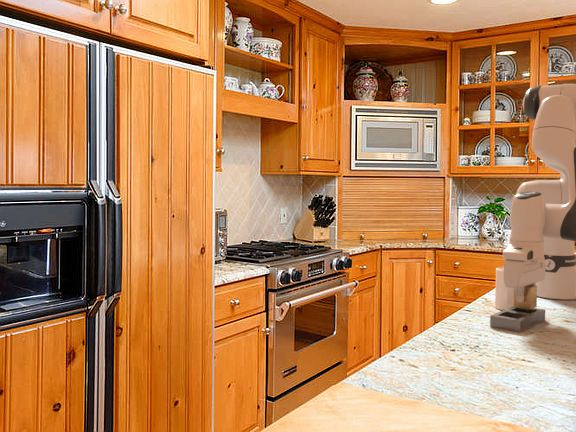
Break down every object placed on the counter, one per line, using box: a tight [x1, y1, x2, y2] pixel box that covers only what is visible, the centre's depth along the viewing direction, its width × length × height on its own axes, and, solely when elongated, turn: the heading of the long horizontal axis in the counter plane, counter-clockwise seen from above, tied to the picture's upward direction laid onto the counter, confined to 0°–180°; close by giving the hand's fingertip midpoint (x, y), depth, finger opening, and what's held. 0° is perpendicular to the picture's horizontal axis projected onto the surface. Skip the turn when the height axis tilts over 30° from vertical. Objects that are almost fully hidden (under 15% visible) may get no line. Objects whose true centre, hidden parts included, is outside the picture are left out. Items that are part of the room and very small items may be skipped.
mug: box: [493, 266, 514, 311], centre depth 167 cm, size 12×8×12 cm
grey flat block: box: [489, 306, 546, 333], centre depth 150 cm, size 17×8×3 cm, turn 135°
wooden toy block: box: [514, 285, 538, 310], centre depth 153 cm, size 4×4×6 cm
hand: (525, 300), depth 153 cm, fingers closed on wooden toy block, 4 cm apart
